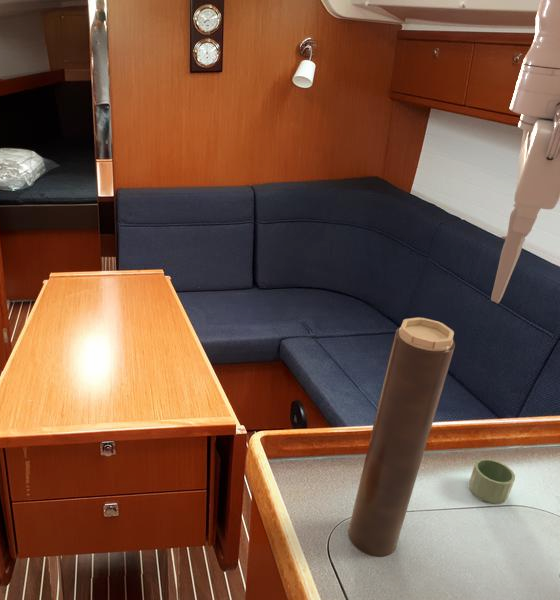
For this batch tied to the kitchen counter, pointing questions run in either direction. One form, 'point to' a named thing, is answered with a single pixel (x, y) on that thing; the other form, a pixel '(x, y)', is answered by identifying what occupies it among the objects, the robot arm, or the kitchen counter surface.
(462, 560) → the kitchen counter surface
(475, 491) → the olive short hollow cylinder
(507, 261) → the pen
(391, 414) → the pedestal
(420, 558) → the kitchen counter surface
